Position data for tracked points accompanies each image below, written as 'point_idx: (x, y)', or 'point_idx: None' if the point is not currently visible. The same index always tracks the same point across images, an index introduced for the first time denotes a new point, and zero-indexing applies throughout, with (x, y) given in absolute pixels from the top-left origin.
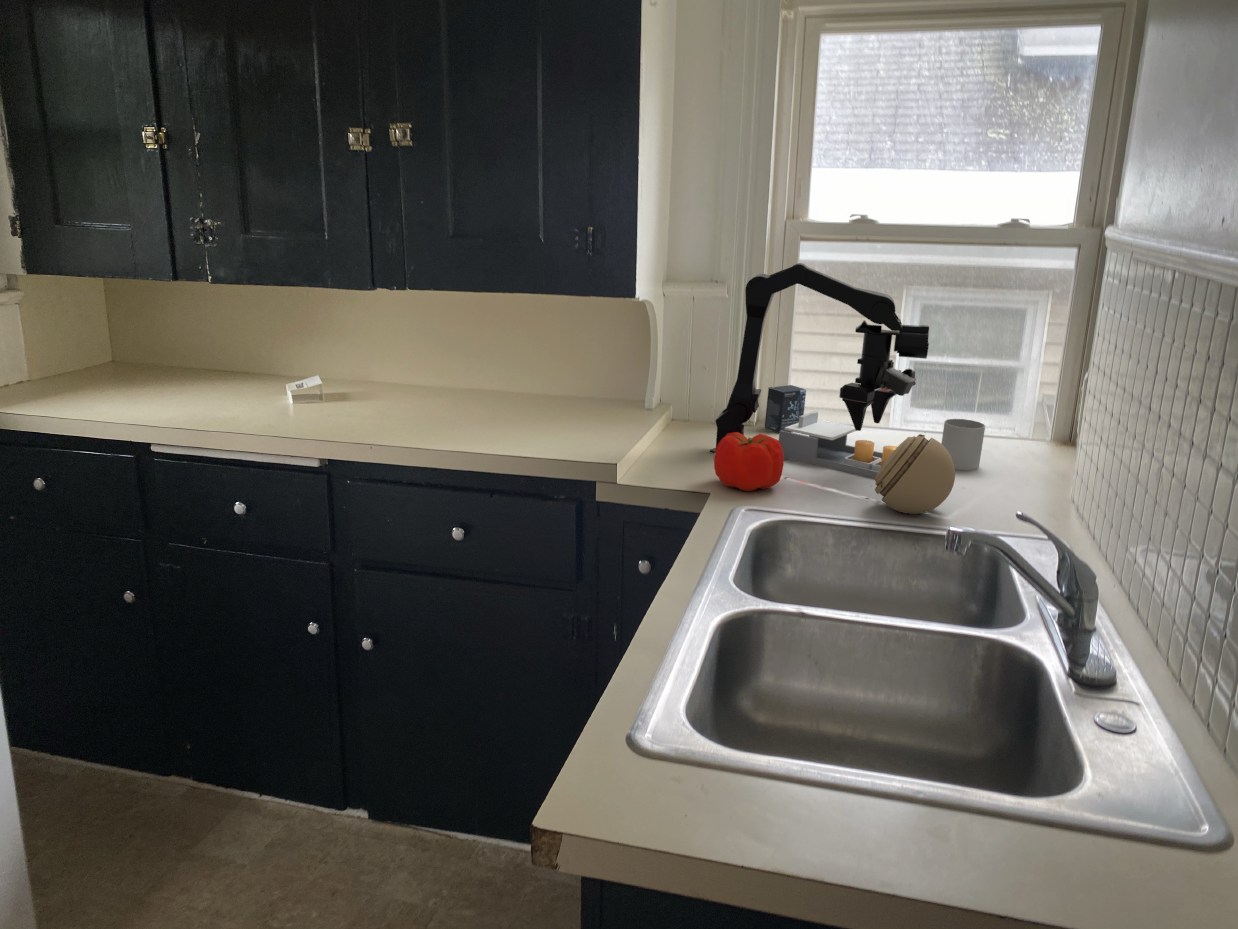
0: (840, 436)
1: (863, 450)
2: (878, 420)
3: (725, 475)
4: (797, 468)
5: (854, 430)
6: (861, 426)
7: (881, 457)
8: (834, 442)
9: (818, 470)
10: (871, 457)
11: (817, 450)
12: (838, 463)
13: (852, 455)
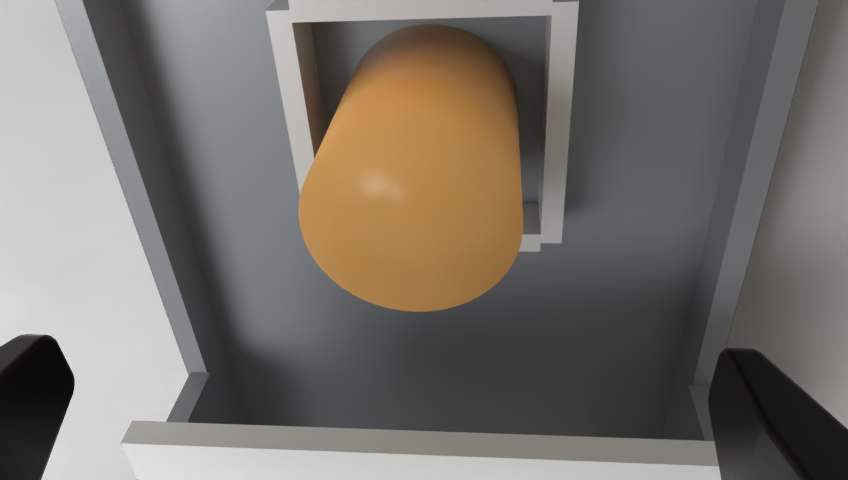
0: (539, 440)
1: (517, 154)
2: (30, 371)
3: None
4: (813, 384)
5: (217, 433)
6: (779, 395)
7: (131, 69)
8: None
9: (774, 283)
10: (429, 58)
11: None
12: (759, 213)
13: None
